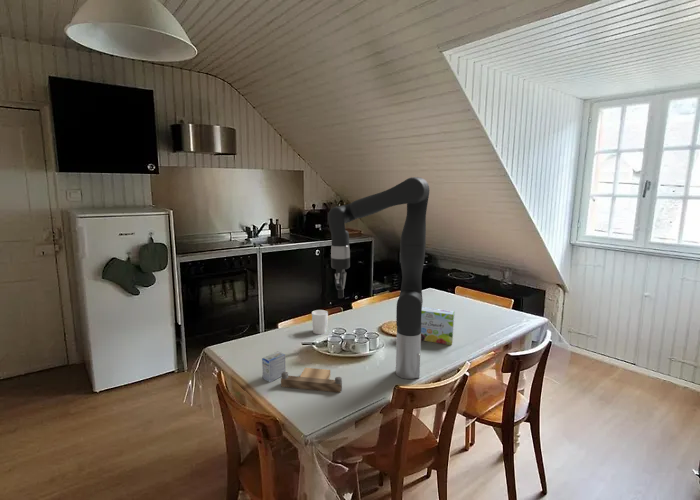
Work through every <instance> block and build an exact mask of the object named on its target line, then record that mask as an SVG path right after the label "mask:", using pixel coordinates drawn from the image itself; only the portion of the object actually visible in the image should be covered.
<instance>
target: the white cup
mask: <svg viewBox="0 0 700 500" xmlns="http://www.w3.org/2000/svg"><path fill="white" fill-rule="evenodd" d="M328 319H329V311H327V310H324V309H316V310H313V311H311V322H312V323H311V324H312V332H313V334H315V335H324V334H326V333H327V331H328Z"/></svg>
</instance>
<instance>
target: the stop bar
mask: <svg viewBox="0 0 700 500" xmlns="http://www.w3.org/2000/svg"><path fill="white" fill-rule="evenodd" d="M280 386H281V387H282V388H290V389H301V390H310V391H311V390H312V391H319V392H320V391H321V392H330V393H341V392H342V390H343V378H342V377H341V376H336V377H335V378H334V379H330V378H329V379H319V378H309V377H300V376H297V375H289V372H287V371H286V372H283V373H282V376H281V377H280Z"/></svg>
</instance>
